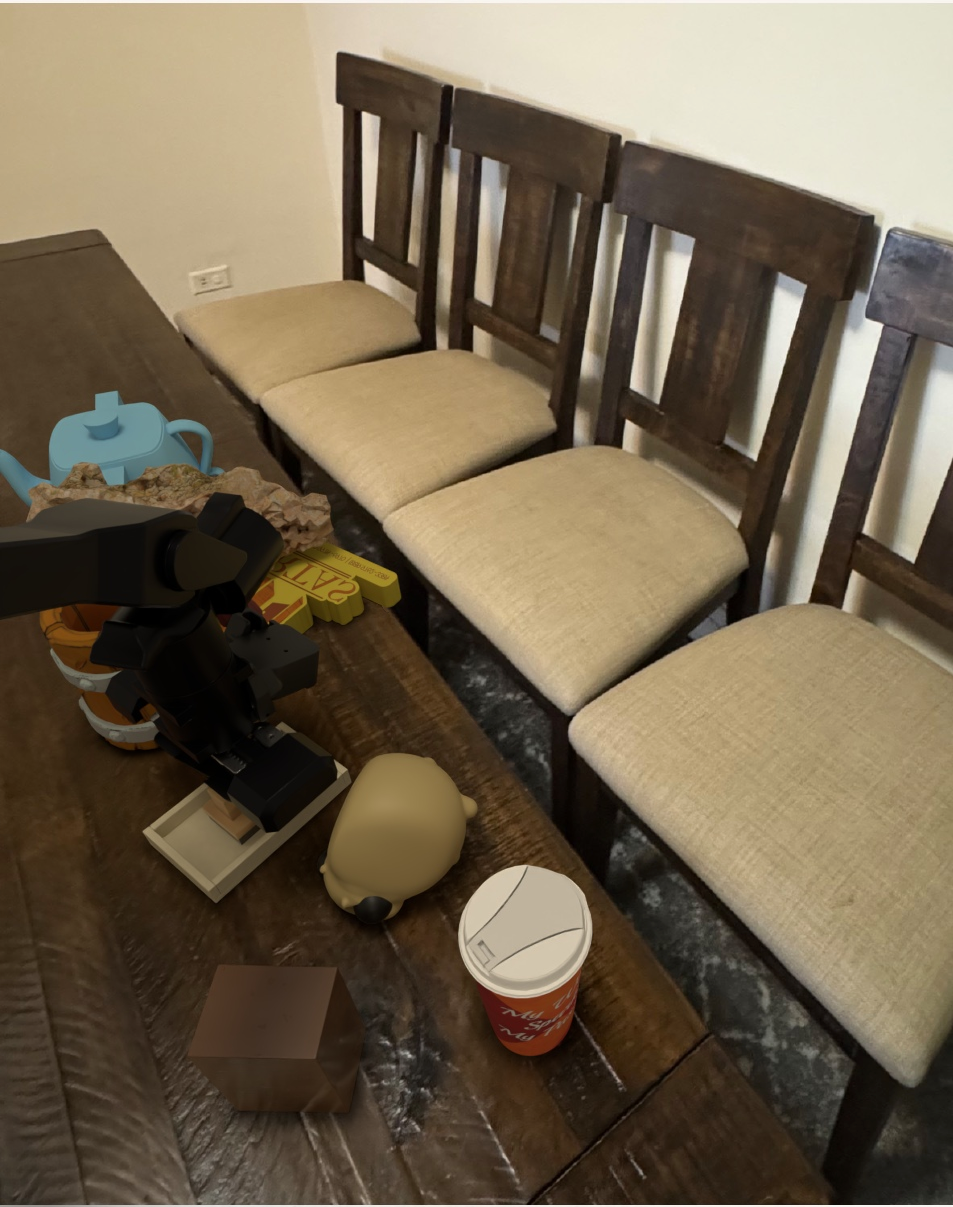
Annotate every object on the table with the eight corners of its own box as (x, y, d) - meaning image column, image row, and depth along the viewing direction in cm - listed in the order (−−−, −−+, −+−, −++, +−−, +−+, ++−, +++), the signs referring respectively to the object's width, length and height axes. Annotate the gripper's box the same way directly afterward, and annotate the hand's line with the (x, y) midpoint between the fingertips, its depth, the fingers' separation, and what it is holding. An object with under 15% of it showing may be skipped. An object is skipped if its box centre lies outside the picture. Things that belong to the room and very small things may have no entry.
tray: (216, 903, 61) (208, 891, 60) (150, 844, 65) (141, 831, 63) (352, 782, 69) (347, 769, 68) (287, 734, 73) (282, 721, 71)
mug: (94, 676, 76) (19, 552, 66) (280, 636, 81) (238, 514, 70) (85, 769, 69) (-1, 646, 59) (290, 719, 73) (244, 597, 63)
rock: (340, 549, 89) (296, 410, 84) (351, 565, 82) (303, 415, 77) (82, 623, 81) (14, 475, 75) (70, 648, 74) (-6, 487, 69)
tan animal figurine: (374, 849, 69) (261, 863, 60) (440, 729, 67) (334, 726, 58) (442, 933, 64) (329, 962, 55) (517, 806, 62) (412, 815, 53)
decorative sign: (261, 530, 92) (147, 610, 83) (254, 509, 90) (137, 589, 81) (404, 596, 86) (298, 692, 76) (400, 575, 84) (290, 671, 74)
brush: (241, 847, 64) (225, 816, 61) (208, 818, 66) (190, 787, 63) (305, 791, 68) (292, 760, 65) (271, 766, 70) (258, 734, 67)
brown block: (237, 1110, 52) (186, 1056, 45) (261, 1026, 55) (217, 963, 48) (349, 1113, 52) (315, 1059, 45) (366, 1028, 55) (337, 966, 49)
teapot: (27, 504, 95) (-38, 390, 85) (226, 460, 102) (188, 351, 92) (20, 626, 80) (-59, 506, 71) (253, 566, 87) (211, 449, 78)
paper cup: (521, 1101, 53) (510, 1019, 43) (453, 1005, 57) (429, 911, 47) (613, 1017, 56) (622, 924, 47) (543, 933, 60) (538, 831, 51)
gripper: (376, 654, 56) (408, 784, 67) (204, 544, 63) (258, 677, 74) (236, 766, 49) (297, 889, 60) (63, 629, 57) (145, 761, 68)
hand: (250, 794), depth 66 cm, fingers closed on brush, 2 cm apart
